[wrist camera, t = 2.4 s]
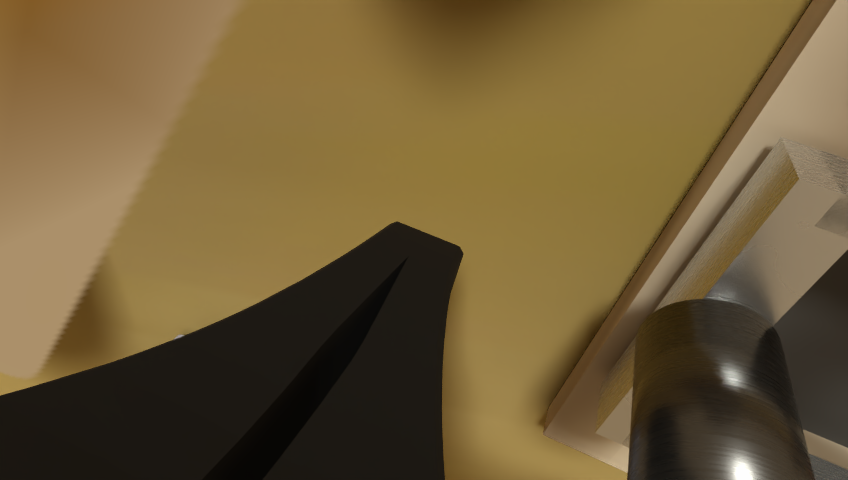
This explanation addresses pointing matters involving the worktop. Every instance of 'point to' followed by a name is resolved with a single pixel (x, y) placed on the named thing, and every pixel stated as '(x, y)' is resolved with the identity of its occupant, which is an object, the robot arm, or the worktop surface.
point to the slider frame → (733, 336)
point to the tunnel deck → (701, 212)
